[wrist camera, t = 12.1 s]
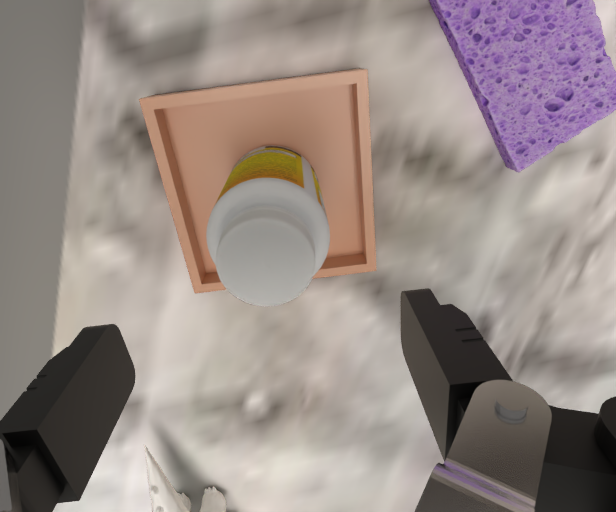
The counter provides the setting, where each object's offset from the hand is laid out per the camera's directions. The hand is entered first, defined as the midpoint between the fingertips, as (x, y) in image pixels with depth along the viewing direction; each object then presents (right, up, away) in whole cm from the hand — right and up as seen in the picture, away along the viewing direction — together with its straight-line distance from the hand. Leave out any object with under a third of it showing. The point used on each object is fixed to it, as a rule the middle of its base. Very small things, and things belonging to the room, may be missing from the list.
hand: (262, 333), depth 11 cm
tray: (-1, +7, +14) cm, 16 cm away
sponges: (+13, +15, +12) cm, 23 cm away
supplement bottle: (-1, +6, +14) cm, 15 cm away
